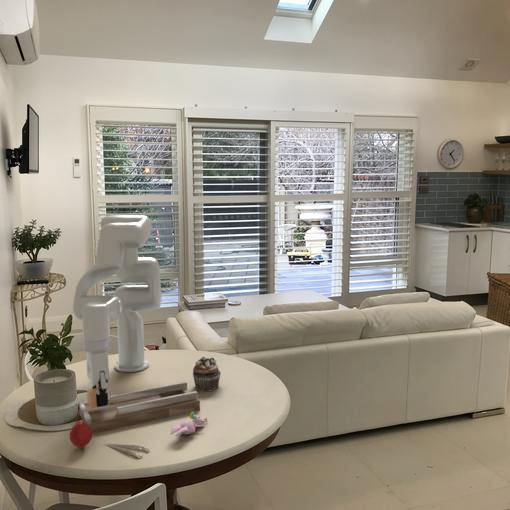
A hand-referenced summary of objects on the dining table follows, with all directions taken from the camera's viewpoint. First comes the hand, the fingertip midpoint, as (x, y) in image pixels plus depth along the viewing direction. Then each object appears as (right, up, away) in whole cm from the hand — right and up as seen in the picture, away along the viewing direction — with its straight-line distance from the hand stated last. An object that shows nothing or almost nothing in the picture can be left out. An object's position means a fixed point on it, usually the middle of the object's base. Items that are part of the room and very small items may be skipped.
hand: (100, 401), depth 161 cm
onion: (-1, -9, -15) cm, 18 cm away
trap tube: (+11, -5, +6) cm, 13 cm away
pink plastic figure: (+27, -7, -7) cm, 29 cm away
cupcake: (+30, -2, +26) cm, 39 cm away
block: (-1, -1, 0) cm, 1 cm away
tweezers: (+9, -9, -15) cm, 20 cm away
